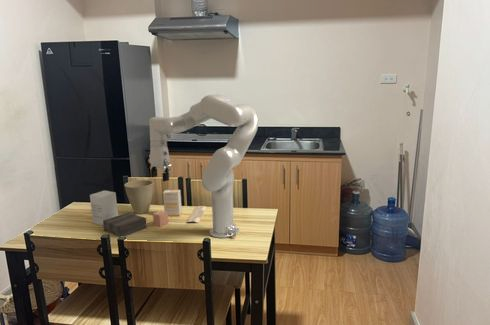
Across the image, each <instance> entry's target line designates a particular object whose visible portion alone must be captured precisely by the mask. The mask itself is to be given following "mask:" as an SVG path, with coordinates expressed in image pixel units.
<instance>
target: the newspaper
mask: <svg viewBox="0 0 490 325" xmlns="http://www.w3.org/2000/svg"><path fill="white" fill-rule="evenodd" d="M206 207H207V206H205V205H197V206H195V208H194V209H193V211H192V213H191V215H190V216H189V218H187V221H186V222H185V223H186V224H188V223H191V222H195V223H197V224H199V223H200V220H201V219H202V217H203V215H204V214H203V213H205V212H206V209H207V208H206ZM204 211H205V212H204Z"/></svg>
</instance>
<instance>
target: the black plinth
mask: <svg viewBox="0 0 490 325" xmlns="http://www.w3.org/2000/svg"><path fill="white" fill-rule="evenodd" d="M103 225H104V226H103V232H104V231H105V232H107V233H109V234H112V235H114V236H117V237H119V236H124V237H126V236H128V235H131V234H135V233H137V232H140V231H142V230H145V229H147V217H143V216H141V215H139V214H136V213H132V212H129V211H128V212H126V213H122V214H120V215H119V214H118V216H116V217H113V218H110V219H107V220H103Z"/></svg>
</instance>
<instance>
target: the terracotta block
mask: <svg viewBox="0 0 490 325" xmlns="http://www.w3.org/2000/svg"><path fill="white" fill-rule="evenodd" d="M152 219H153V226H154V227H155V226H156V227H158V228H162V227H164V226H168V225H169V216H168V213H167V212H165V211H164V210H158V211H156V212H153V213H152Z"/></svg>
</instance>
